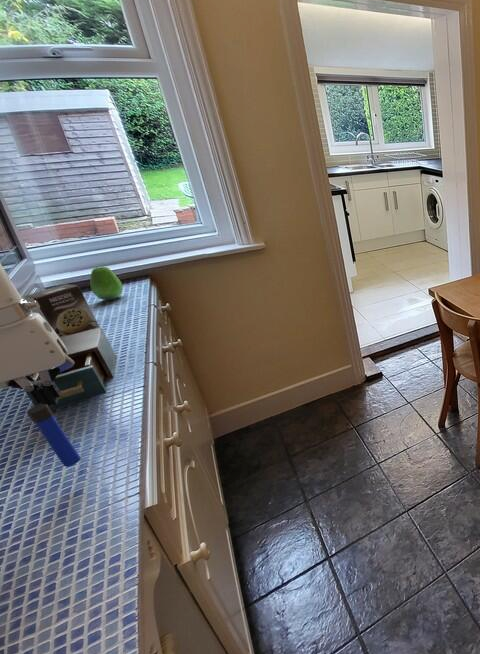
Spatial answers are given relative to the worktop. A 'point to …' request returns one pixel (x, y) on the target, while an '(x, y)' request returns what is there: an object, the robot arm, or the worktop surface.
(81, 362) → the drawer
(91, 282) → the avocado
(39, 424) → the marker
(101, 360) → the cabinet
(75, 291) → the coffee box
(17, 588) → the worktop surface
